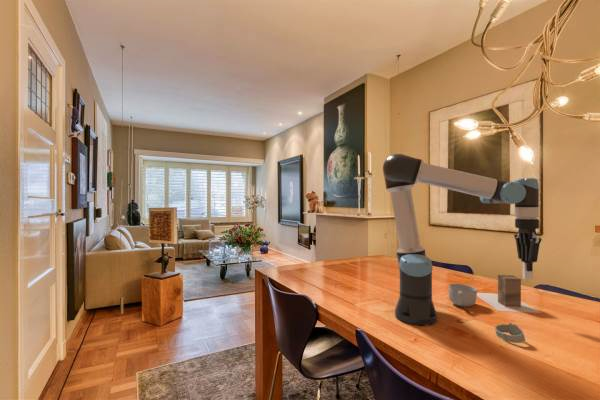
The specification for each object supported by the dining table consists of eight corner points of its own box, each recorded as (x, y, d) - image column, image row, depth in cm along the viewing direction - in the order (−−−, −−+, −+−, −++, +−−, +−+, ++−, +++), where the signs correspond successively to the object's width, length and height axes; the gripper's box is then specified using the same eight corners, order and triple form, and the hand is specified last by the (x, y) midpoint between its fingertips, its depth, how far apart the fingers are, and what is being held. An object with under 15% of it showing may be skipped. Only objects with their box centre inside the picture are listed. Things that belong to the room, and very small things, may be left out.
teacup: (453, 299, 138) (453, 281, 138) (480, 305, 131) (480, 286, 130) (442, 306, 128) (442, 287, 128) (470, 313, 121) (470, 293, 121)
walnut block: (520, 307, 126) (520, 278, 126) (505, 307, 126) (505, 278, 126) (512, 302, 132) (512, 275, 132) (497, 302, 132) (497, 274, 132)
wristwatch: (530, 344, 95) (530, 329, 95) (514, 347, 94) (514, 331, 94) (504, 332, 104) (504, 317, 104) (489, 334, 103) (489, 319, 103)
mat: (542, 314, 120) (542, 312, 120) (498, 312, 122) (498, 310, 122) (508, 295, 144) (508, 293, 144) (472, 293, 146) (472, 292, 146)
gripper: (549, 219, 110) (549, 283, 110) (526, 217, 123) (527, 275, 123) (526, 219, 111) (527, 283, 111) (507, 217, 124) (507, 274, 124)
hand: (527, 278), depth 117 cm, fingers closed
